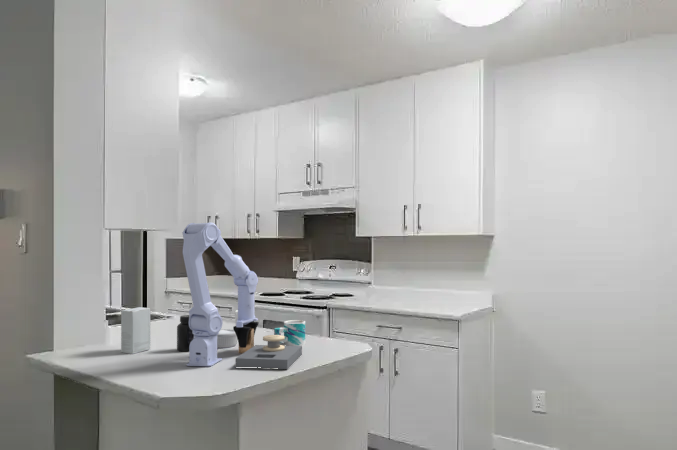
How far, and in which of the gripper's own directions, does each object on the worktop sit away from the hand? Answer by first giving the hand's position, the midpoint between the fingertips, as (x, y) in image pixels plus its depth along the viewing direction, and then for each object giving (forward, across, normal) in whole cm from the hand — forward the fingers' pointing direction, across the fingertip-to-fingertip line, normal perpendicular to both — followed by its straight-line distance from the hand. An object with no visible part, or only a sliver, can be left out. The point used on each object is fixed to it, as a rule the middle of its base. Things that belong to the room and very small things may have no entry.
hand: (246, 345), depth 178 cm
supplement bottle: (+3, +1, +22) cm, 22 cm away
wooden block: (+2, 0, 0) cm, 2 cm away
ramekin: (+3, +10, +12) cm, 16 cm away
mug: (+3, +14, -12) cm, 19 cm away
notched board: (+2, -12, -12) cm, 17 cm away
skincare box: (+3, -3, +39) cm, 39 cm away
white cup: (+3, +31, +11) cm, 33 cm away
